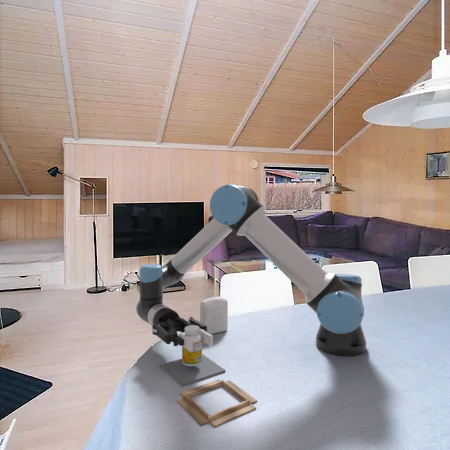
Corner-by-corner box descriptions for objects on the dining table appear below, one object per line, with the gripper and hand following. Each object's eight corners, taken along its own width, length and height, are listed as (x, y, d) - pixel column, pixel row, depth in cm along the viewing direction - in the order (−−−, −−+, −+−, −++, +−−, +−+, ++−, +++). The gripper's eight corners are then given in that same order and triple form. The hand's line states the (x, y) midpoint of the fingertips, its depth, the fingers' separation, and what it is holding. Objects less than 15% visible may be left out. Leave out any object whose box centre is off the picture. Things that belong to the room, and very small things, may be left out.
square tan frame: (224, 378, 91) (224, 374, 91) (262, 405, 78) (262, 401, 78) (172, 396, 82) (172, 392, 82) (206, 430, 70) (206, 426, 70)
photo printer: (222, 327, 128) (222, 293, 127) (229, 330, 124) (229, 296, 123) (198, 333, 122) (198, 298, 121) (204, 336, 118) (204, 301, 118)
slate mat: (200, 354, 105) (200, 352, 105) (225, 371, 94) (225, 369, 94) (160, 366, 97) (160, 364, 97) (182, 386, 87) (182, 384, 87)
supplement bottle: (182, 358, 98) (182, 324, 97) (201, 357, 98) (201, 323, 98) (181, 367, 93) (181, 331, 92) (202, 366, 93) (201, 330, 92)
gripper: (189, 324, 115) (230, 349, 96) (135, 337, 105) (169, 367, 86) (189, 302, 115) (230, 322, 96) (135, 312, 104) (169, 337, 85)
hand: (201, 343), depth 91 cm, fingers closed on supplement bottle, 5 cm apart
